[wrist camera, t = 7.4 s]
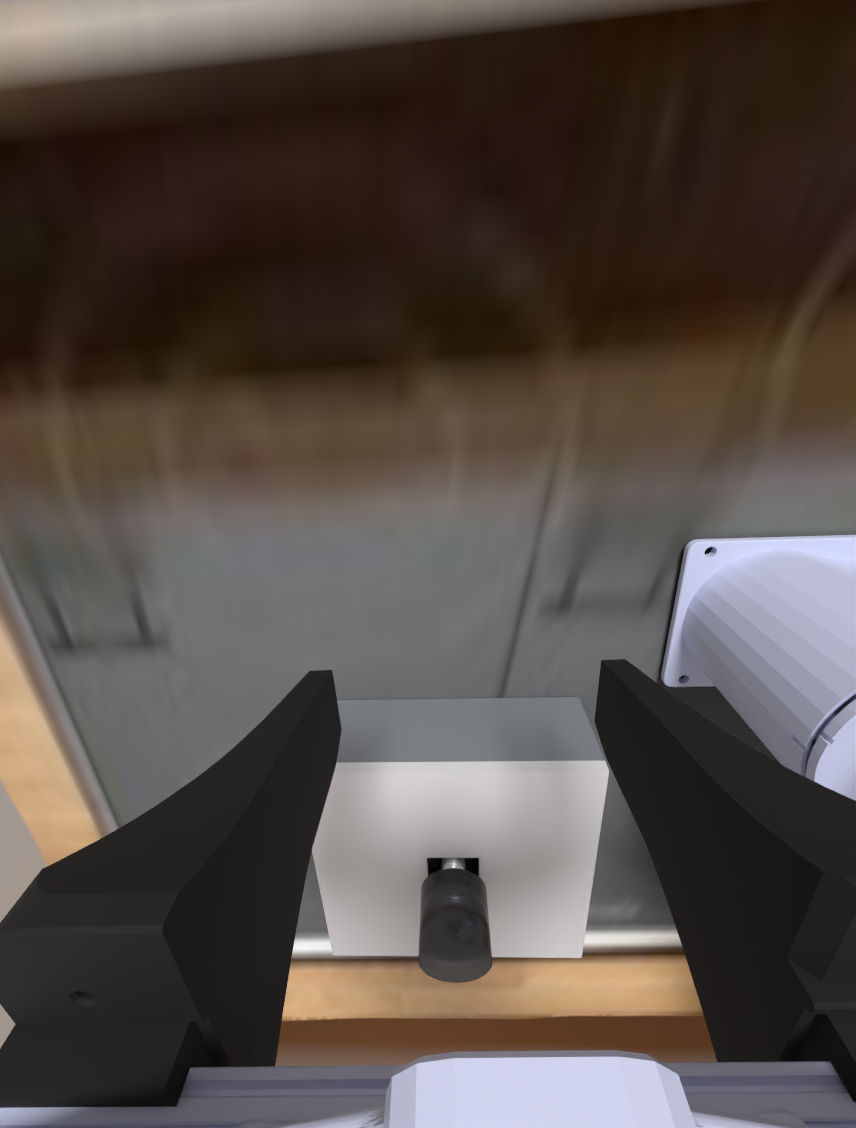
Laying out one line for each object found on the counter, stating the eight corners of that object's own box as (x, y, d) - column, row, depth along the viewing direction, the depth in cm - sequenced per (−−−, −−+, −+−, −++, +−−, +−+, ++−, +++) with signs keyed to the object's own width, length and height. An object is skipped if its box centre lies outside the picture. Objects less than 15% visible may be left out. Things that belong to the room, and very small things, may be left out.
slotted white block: (578, 696, 25) (609, 771, 21) (560, 869, 31) (581, 957, 26) (322, 700, 26) (296, 773, 21) (349, 868, 31) (333, 955, 27)
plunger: (552, 730, 25) (596, 878, 18) (541, 866, 29) (573, 1030, 22) (349, 732, 26) (312, 877, 18) (367, 866, 30) (343, 1026, 23)
